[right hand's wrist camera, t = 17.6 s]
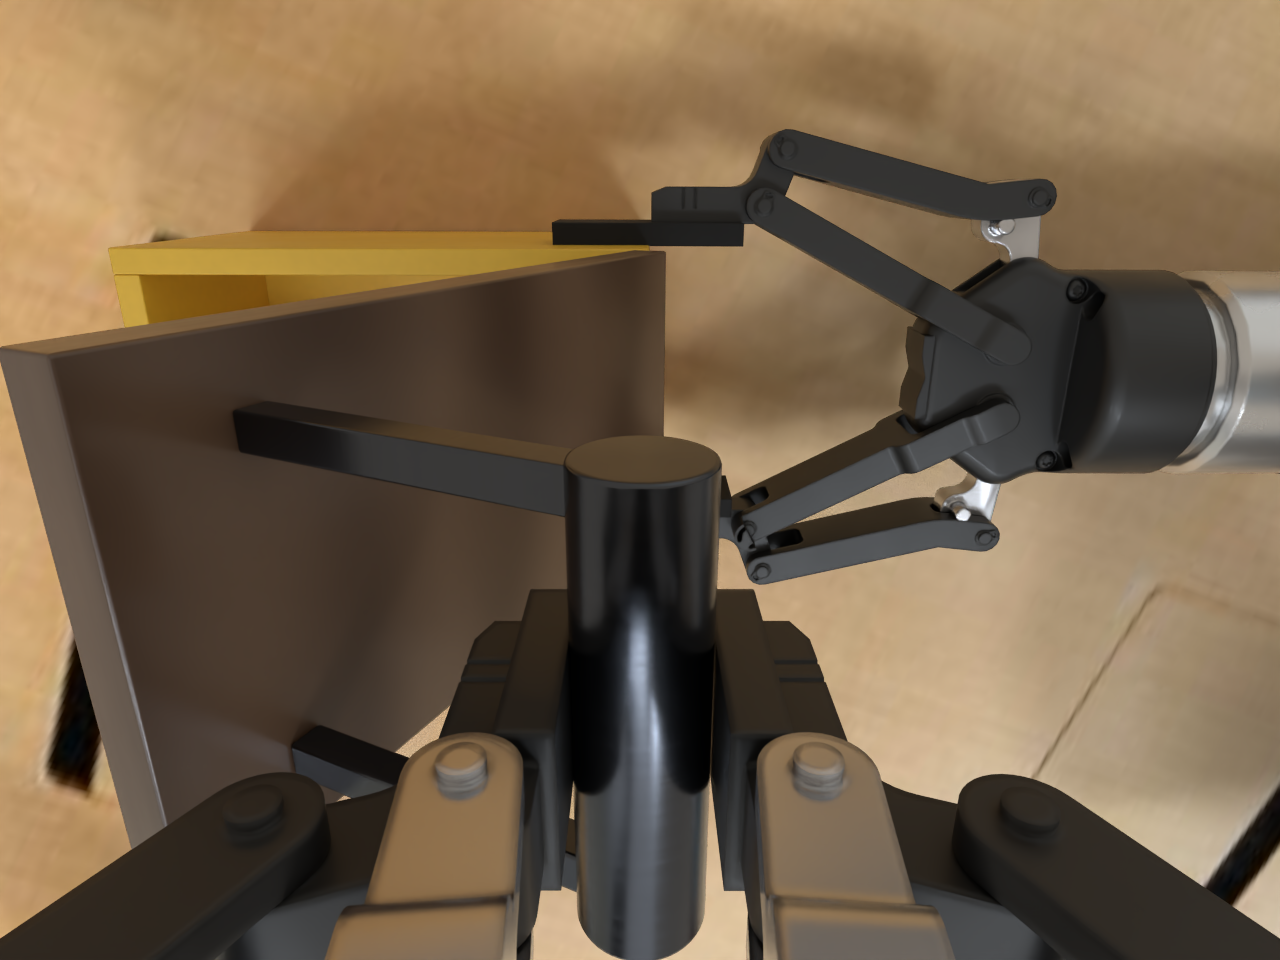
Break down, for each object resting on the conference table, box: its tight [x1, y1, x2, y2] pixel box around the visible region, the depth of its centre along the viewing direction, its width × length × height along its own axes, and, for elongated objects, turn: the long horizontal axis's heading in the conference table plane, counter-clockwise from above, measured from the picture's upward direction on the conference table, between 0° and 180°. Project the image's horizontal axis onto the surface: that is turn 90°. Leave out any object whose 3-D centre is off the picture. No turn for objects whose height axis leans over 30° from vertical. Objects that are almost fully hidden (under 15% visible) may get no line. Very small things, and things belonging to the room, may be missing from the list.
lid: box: [0, 250, 722, 960], centre depth 18 cm, size 18×9×9 cm
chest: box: [108, 231, 650, 328], centre depth 32 cm, size 18×9×10 cm, turn 90°
